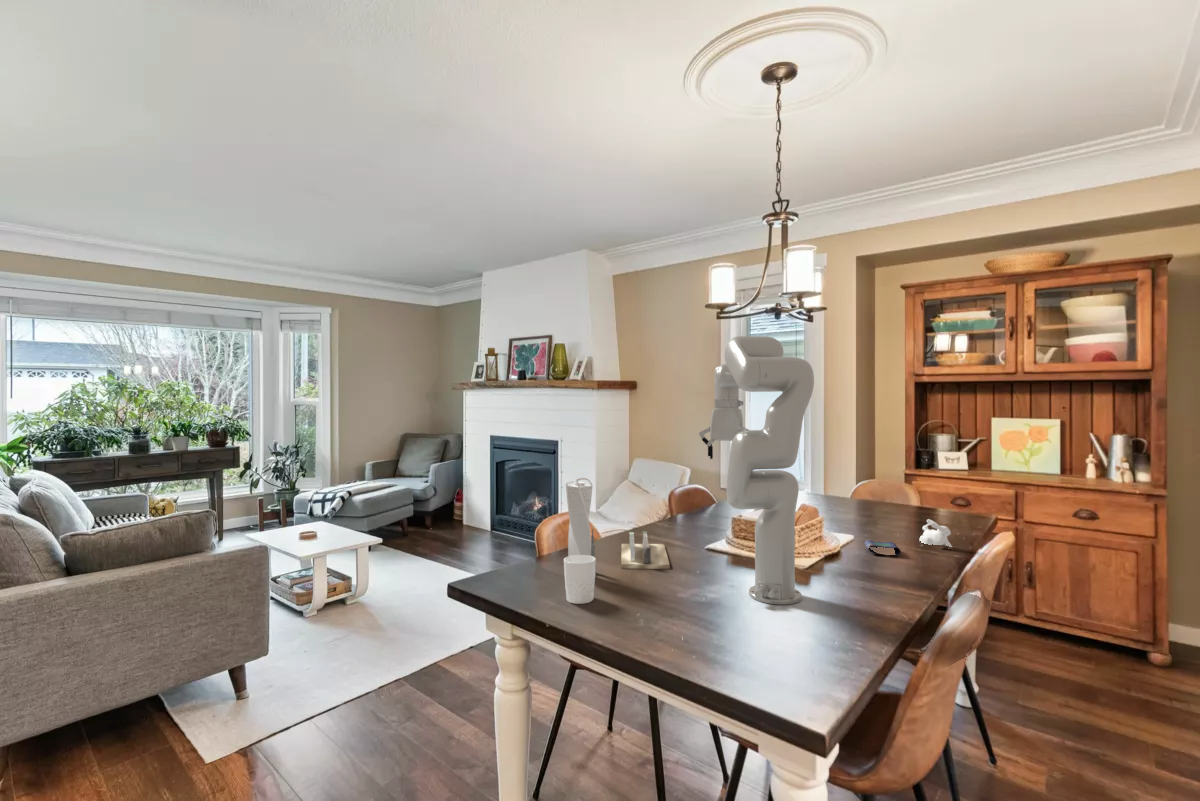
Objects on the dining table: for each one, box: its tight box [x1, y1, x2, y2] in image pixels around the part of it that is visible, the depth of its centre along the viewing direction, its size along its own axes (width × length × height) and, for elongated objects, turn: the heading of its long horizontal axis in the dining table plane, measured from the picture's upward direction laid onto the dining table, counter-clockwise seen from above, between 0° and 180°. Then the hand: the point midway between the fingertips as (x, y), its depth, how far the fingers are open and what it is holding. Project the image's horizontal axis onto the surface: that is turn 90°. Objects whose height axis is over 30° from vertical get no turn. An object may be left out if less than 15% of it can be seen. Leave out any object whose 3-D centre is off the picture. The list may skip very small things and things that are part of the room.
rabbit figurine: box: [918, 518, 953, 547], centre depth 189 cm, size 12×8×10 cm, turn 21°
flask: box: [864, 539, 902, 556], centre depth 184 cm, size 9×3×11 cm
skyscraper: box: [565, 477, 597, 580], centre depth 160 cm, size 8×8×28 cm
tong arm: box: [628, 531, 636, 561], centre depth 179 cm, size 1×18×4 cm, turn 178°
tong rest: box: [620, 530, 671, 570], centre depth 179 cm, size 14×24×6 cm, turn 178°
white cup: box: [563, 555, 597, 605], centre depth 142 cm, size 8×8×10 cm
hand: (726, 458), depth 183 cm, fingers open, 9 cm apart
